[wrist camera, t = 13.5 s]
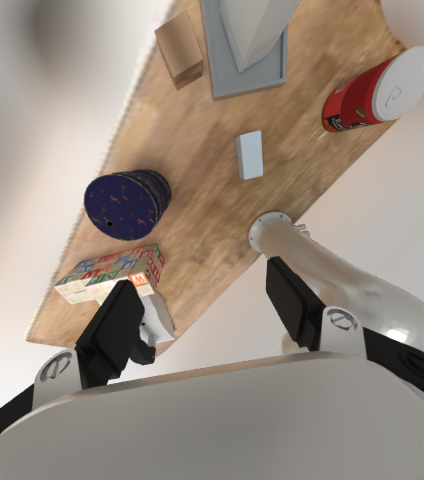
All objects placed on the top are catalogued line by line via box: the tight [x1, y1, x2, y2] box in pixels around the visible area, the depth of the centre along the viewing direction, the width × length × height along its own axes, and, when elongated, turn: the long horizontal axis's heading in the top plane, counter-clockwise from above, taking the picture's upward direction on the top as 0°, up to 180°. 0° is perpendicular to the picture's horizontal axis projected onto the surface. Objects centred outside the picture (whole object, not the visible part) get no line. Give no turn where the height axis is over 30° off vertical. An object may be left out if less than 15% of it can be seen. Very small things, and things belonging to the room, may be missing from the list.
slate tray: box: [200, 0, 288, 101], centre depth 24 cm, size 13×15×2 cm
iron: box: [129, 291, 175, 365], centre depth 46 cm, size 11×24×15 cm, turn 9°
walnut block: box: [155, 10, 203, 91], centre depth 24 cm, size 5×5×5 cm
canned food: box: [322, 46, 424, 132], centre depth 26 cm, size 8×8×11 cm
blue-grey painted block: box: [235, 130, 263, 180], centre depth 32 cm, size 8×4×4 cm, turn 12°
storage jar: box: [84, 170, 171, 241], centre depth 28 cm, size 10×10×15 cm
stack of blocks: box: [54, 244, 164, 306], centre depth 37 cm, size 21×6×12 cm, turn 102°
